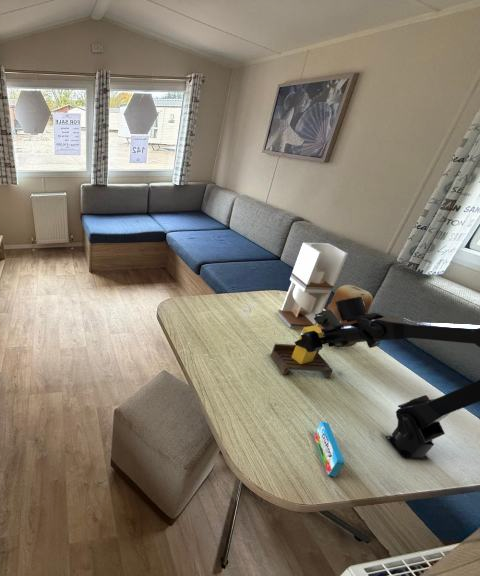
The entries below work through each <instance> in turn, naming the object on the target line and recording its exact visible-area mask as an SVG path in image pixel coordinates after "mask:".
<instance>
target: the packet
mask: <svg viewBox="0 0 480 576" xmlns="http://www.w3.org/2000/svg"><path fill="white" fill-rule="evenodd" d="M309 331H315V332H317V333H318V335H319V337H320V338H321V337H323V333H322V331H321V328H319V327H318V326H317V325H314V326H309V327H304V328H302V330H301V333H305V332H309ZM300 339H302V337H301V334H300V335H299V338H298V340H300ZM295 345H296V344H295ZM316 352H317V351H314V352H308V351H307V350H306V349H305V348H302V347H300V346H297V345H296V347H295V349H294V352H293V354H292V356H291V357H292V358H293V359H295V360H296V361H297V362H299V363H300V364H304V363H307V362H311V361H313V359H314V357H315V354H316Z"/></svg>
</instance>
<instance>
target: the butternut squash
mask: <svg viewBox="0 0 480 576" xmlns="http://www.w3.org/2000/svg"><path fill="white" fill-rule="evenodd" d="M360 296H361V297H362V299H363V302H364V305H365V307H366V310H367V312H368V313H369V312H370V309H371V306H372V304H373V296H372V294H371V293H370V291H368V290H366V289H363V288H360V287H358V286H356V285H353V284H344V285H341V286H340V287H338V288H337V289H336V291H334V294H333V296H332V298H331V300H330V301H329V303H328V305H327V306H326V310H331V311H333V313H334V314H335V315H336V316H337V317H338V318H339V320H340V322H341V323H342V324H344V323H345V324H352V323H357V321H351V322H347V320H345V321H343V320H342V319H341V316H340V314H339V312H338V309H337V307H336V305H335V302H337V301H340V300H345V299H350V298H355V297H360ZM316 326H318V327H319V328H321V329H322V328H324V327H322V326H321V325H318V324H317V325H316ZM356 344H357V343H351V344H347V345H336V346H334V347H336V348H348V347H353V346H355V345H356Z"/></svg>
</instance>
